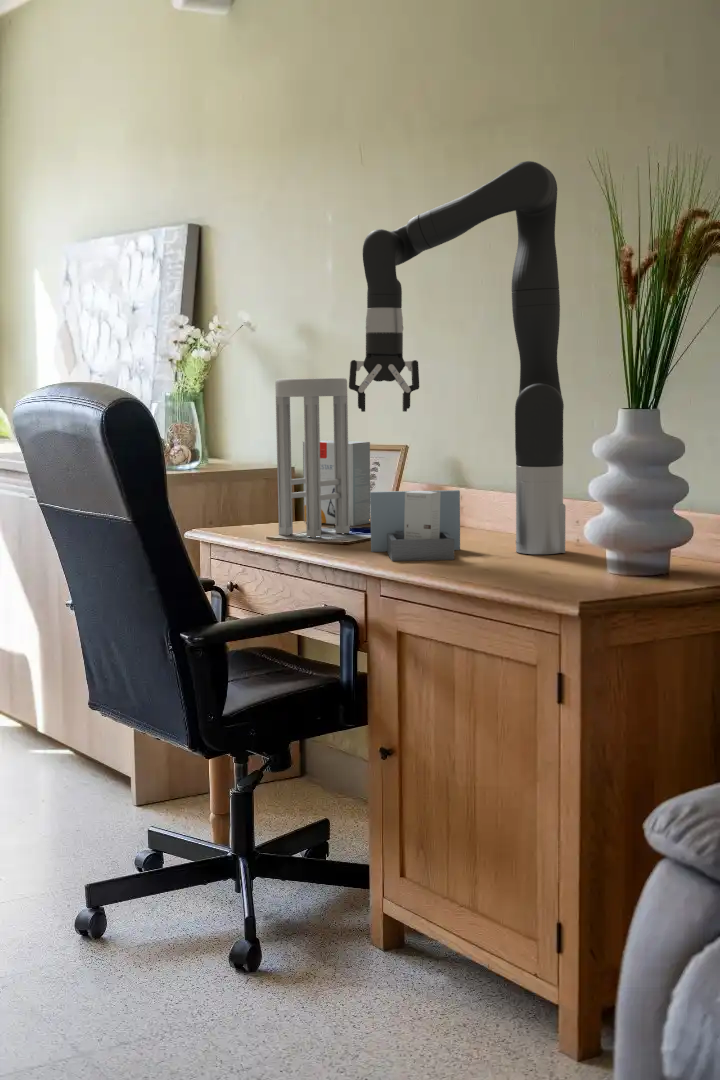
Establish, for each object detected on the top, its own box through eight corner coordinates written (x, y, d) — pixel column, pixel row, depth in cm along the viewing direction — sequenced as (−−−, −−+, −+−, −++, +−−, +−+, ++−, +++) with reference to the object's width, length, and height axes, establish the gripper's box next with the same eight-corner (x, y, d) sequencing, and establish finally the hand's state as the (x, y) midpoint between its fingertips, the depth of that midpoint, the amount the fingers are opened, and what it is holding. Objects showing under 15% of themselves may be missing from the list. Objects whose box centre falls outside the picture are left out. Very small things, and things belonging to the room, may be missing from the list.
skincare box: (403, 553, 255) (402, 492, 253) (413, 550, 258) (412, 490, 257) (431, 555, 252) (431, 492, 250) (441, 552, 255) (440, 491, 254)
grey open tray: (445, 550, 264) (445, 529, 263) (454, 559, 249) (454, 537, 249) (386, 551, 263) (386, 530, 262) (391, 561, 249) (391, 539, 248)
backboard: (459, 548, 265) (458, 490, 264) (460, 549, 264) (459, 490, 262) (371, 550, 264) (370, 491, 263) (371, 551, 263) (370, 492, 261)
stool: (362, 533, 295) (360, 377, 291) (313, 539, 284) (310, 378, 280) (314, 528, 306) (311, 378, 301) (265, 534, 294) (262, 379, 290)
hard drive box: (302, 522, 319) (300, 441, 316) (322, 519, 325) (320, 439, 322) (353, 526, 309) (351, 442, 307) (372, 523, 315) (371, 440, 313)
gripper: (417, 332, 268) (416, 411, 270) (348, 331, 267) (347, 411, 269) (421, 330, 261) (420, 412, 263) (350, 330, 260) (350, 412, 262)
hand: (383, 411), depth 266 cm, fingers open, 8 cm apart
